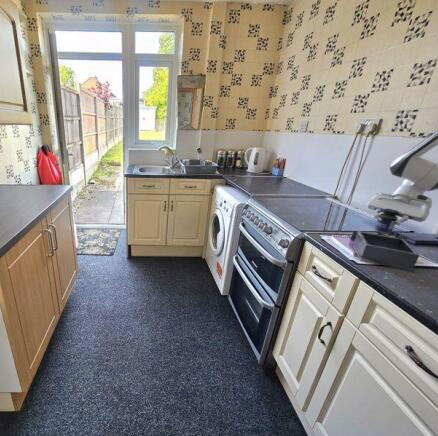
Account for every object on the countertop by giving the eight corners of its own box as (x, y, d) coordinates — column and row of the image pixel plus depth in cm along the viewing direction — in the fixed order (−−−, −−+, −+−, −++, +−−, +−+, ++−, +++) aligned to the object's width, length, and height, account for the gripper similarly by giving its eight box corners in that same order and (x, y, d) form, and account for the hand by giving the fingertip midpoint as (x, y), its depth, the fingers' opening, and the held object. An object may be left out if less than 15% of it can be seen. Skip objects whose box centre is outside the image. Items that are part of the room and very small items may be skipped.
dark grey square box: (396, 255, 93) (404, 239, 90) (410, 273, 82) (419, 255, 79) (352, 246, 99) (358, 231, 96) (359, 262, 88) (366, 244, 85)
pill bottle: (369, 230, 115) (378, 208, 111) (379, 229, 116) (388, 207, 112) (384, 236, 109) (393, 212, 105) (394, 235, 111) (404, 212, 107)
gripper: (376, 188, 118) (358, 209, 117) (436, 199, 101) (416, 225, 100) (377, 196, 121) (360, 217, 121) (436, 208, 104) (416, 233, 104)
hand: (386, 220), depth 110 cm, fingers closed on pill bottle, 6 cm apart
